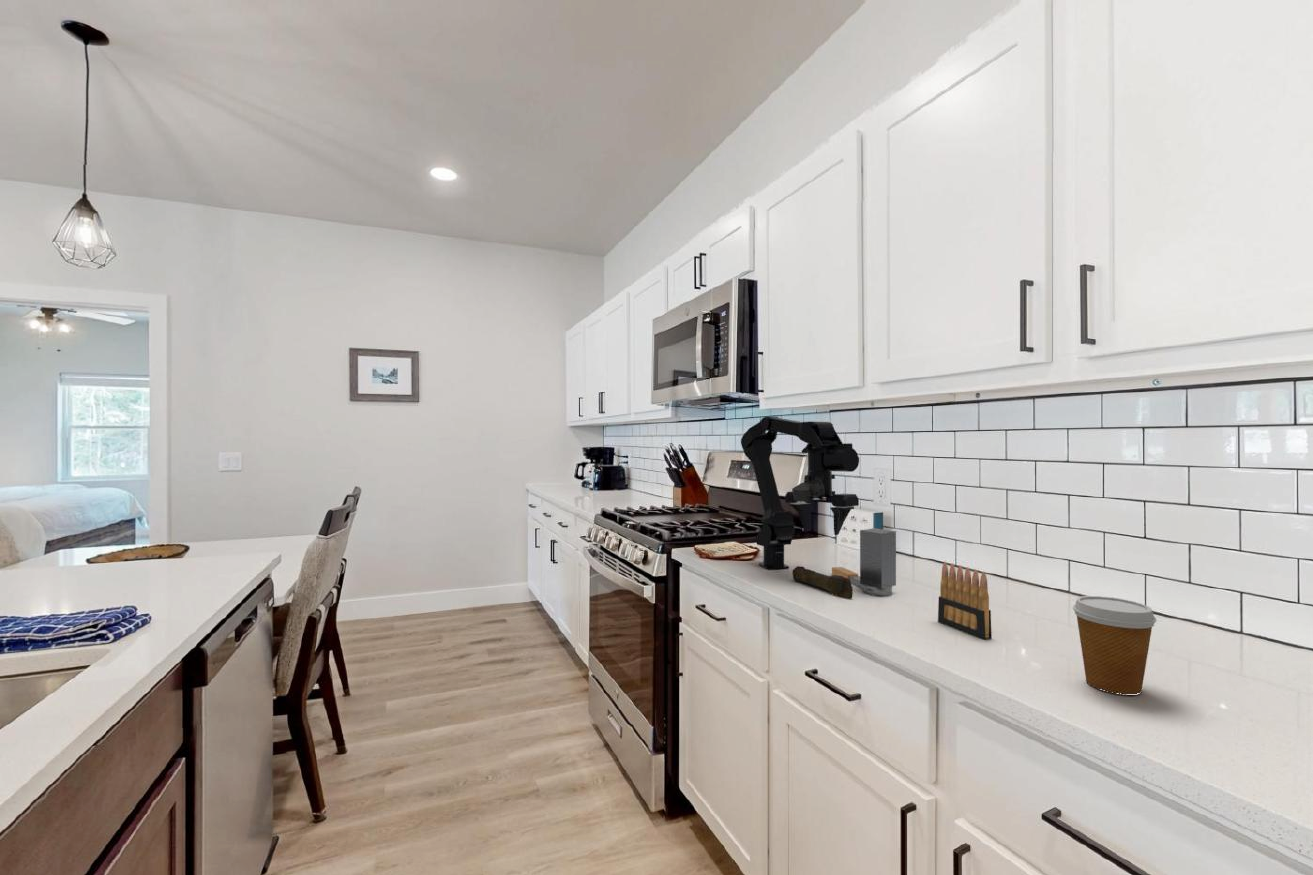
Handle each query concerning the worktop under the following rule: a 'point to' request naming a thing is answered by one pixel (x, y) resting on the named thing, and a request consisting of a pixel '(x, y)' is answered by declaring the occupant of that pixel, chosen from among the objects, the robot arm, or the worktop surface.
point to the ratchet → (856, 581)
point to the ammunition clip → (965, 602)
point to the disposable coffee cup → (1114, 642)
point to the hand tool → (824, 581)
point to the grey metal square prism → (878, 558)
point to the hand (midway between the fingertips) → (821, 532)
